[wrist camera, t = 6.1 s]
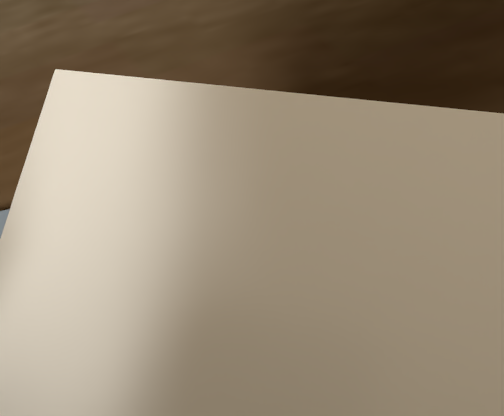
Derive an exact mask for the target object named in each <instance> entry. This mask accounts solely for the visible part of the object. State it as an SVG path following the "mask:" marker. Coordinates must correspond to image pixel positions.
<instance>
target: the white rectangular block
mask: <svg viewBox="0 0 504 416" xmlns="http://www.w3.org/2000/svg"><path fill="white" fill-rule="evenodd" d="M0 416H504V114H503V113H493V112H483V111H473V110H463V109H452V108H442V107H432V106H422V105H412V104H402V103H392V102H382V101H371V100H361V99H351V98H341V97H331V96H321V95H311V94H301V93H290V92H280V91H270V90H260V89H250V88H240V87H230V86H220V85H210V84H199V83H189V82H179V81H169V80H159V79H149V78H139V77H129V76H118V75H108V74H98V73H88V72H78V71H68V70H58V69H55V72H54V75H53V78H52V81H51V84H50V87H49V90H48V93H47V96H46V100H45V103H44V106H43V109H42V112H41V115H40V118H39V121H38V124H37V127H36V130H35V133H34V137H33V140H32V143H31V146H30V149H29V152H28V155H27V158H26V161H25V164H24V167H23V170H22V174H21V177H20V180H19V183H18V186H17V189H16V192H15V195H14V198H13V201H12V204H11V207H10V211H9V214H8V217H7V220H6V223H5V226H4V229H3V232H2V235H1V238H0Z"/></svg>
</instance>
